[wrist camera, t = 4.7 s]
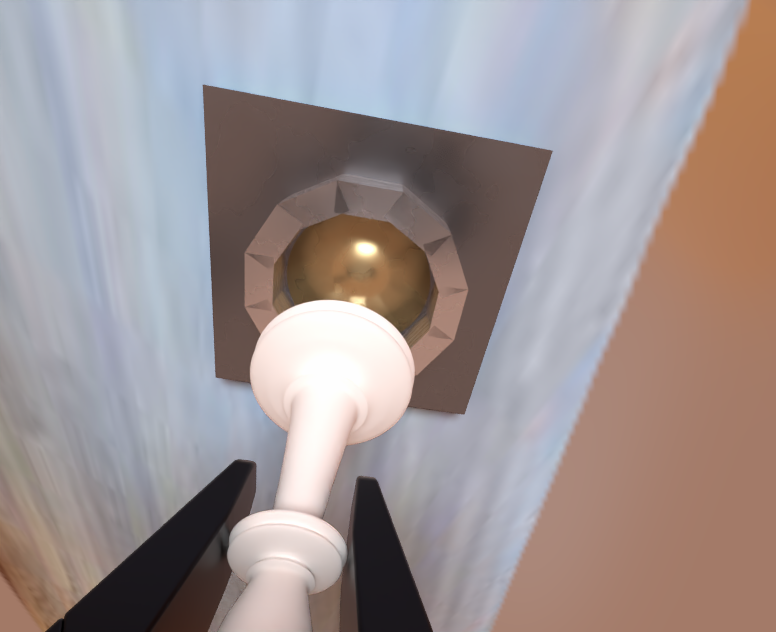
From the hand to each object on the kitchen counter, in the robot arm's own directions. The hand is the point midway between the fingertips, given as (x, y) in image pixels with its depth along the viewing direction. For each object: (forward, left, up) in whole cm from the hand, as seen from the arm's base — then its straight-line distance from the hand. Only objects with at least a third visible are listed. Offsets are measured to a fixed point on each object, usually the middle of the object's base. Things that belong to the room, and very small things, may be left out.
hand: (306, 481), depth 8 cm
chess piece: (0, 0, -4) cm, 4 cm away
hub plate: (0, 0, -13) cm, 13 cm away
